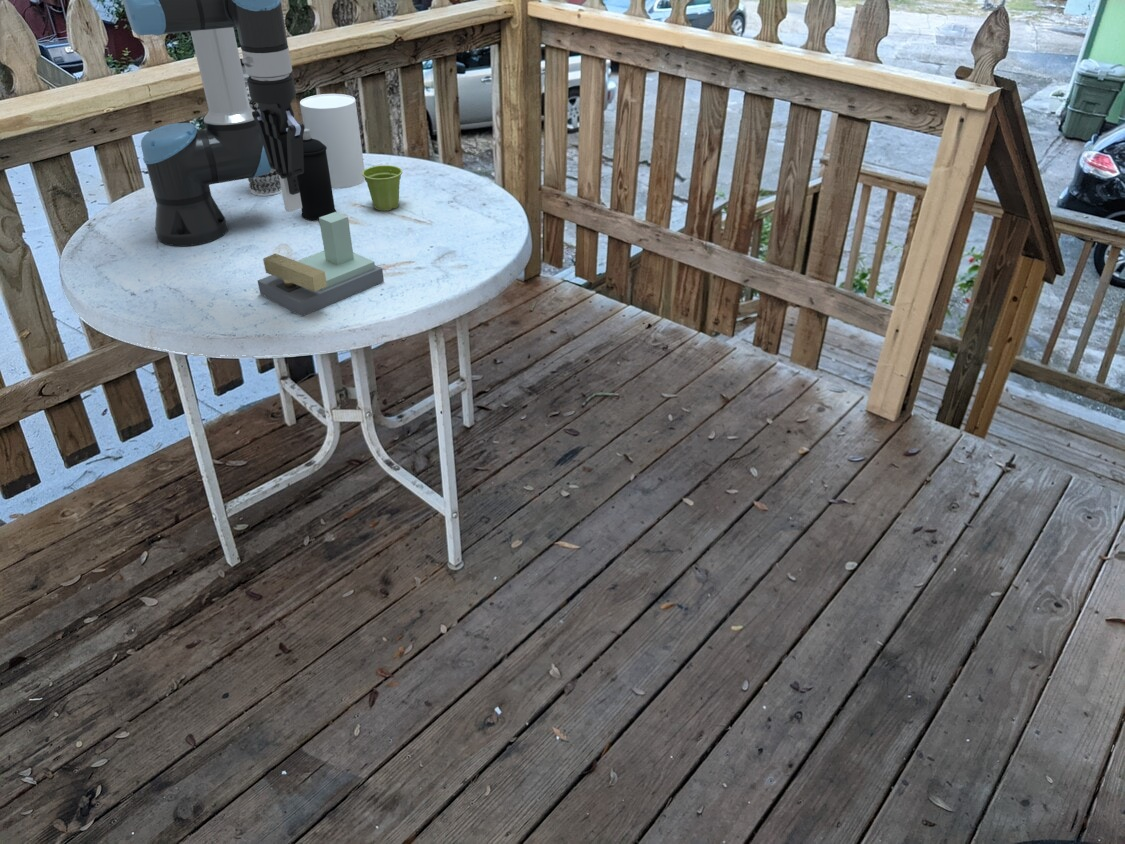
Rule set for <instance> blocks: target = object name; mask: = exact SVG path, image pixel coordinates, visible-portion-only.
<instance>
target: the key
mask: <svg viewBox="0 0 1125 844" xmlns="http://www.w3.org/2000/svg"><path fill="white" fill-rule="evenodd" d="M262 261H263V265H264V270H265V274H268V275H269V276H271V275H273V276H275V277H278V278H281V279H283V281H284V286H285V287H294V286H296V285H299V286H301V287H304V288H307V289H309V290H312V291H314V292H316V291H318V290H320V289H322V288H324V287H326V286H327V282H326V277H325V272H324V271H322V270H319V269H316V268H314V267H311V266H308V265H305V264H303V263H300V262H297V261H298V260H294V259H291V258H289V257H286V256H283V255H280V254H278V253H273V254H271V255H269V256H266V257H264V258H262Z"/></svg>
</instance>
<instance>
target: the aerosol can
mask: <svg viewBox="0 0 1125 844" xmlns="http://www.w3.org/2000/svg"><path fill="white" fill-rule="evenodd" d="M326 149H327V147H326V146H325V145H324V144H323V143H321V142H320V141H318V140H316V139H312V138H311V135H310V130H309V129H304V133H303V155H304V173H302V174H299V175H297V179H298V185H299V190H300V197H301V203H302V208H301V209H300V210H301V214H300V215H301V217H302V218H303V219H304V218H305V220H307V221H313V220H318V221H319V217H322V216H325V215H328V214H331V213H334V212H337V209H336V206H335V201H334V199H335V198H334V194H333V189H332V186H331V180H330V173H329V167H328V160H327V154H326ZM337 213H338V212H337Z"/></svg>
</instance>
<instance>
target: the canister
mask: <svg viewBox="0 0 1125 844" xmlns="http://www.w3.org/2000/svg"><path fill="white" fill-rule="evenodd" d="M299 105H300V106H299V107H300V111H301V119H302V123H303V124H304V126H305V129H309V130H310V135H311V138H312V139H316V140H318V141H320V142H321V143H323V144H324V145H325V146H326V147H327V149H326V154H327V160H328V167H329V173H330V180H331V186H332V188H334V190H337V188H339V189H346V188H347V187H348V188H352V187H356V186H358V185H360V184H363V182H366V180H365V177H364V176H363V175H362V172H363V171H364V170H365V169H366V168H365V163H364V154H363V147H362V140H361V132H360V125H359V117H358V108H357V103H356V98H355V97H354V96H352V95H350V94H343V93H323V94H321V93H320V94H315V95H311V96H307V97H305V98H302V99H301V100H300V101H299Z"/></svg>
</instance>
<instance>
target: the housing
mask: <svg viewBox="0 0 1125 844" xmlns="http://www.w3.org/2000/svg"><path fill="white" fill-rule="evenodd" d="M384 281H385V279H384V273H383V268H382V267H380V266H378V265H377V264H375V269H373V270H370V271H368V272H365V273H363V274H360V275H358V276H356V277H353V278H351V279H348V280H346V281H343V282H341V283H338V284H336V285H333V286H331V287H329V288H326V289H324V290H321V289H320V290H318V291H316V292H314V291H312V290H309V289H307V288H304V287H301V286H299V285H296V286H294V287H285V286H284V281H283V279H281V278H278V277H275V276H273V275H268V276H266V277H263V278H259V279H257V285H258V289H259V294H260V295H261V296H263V297H265V298H267V299H269V301H273V302H274V303H276V304H278V305H280V306H282V307H283V308H286V309H288V310H289V311H291V312H293V313H294V314H296V315H298V316H300V317H304V316H306V315H309V314H311V313H314V312H316V311H318V310H320V309H322V308H325V307H328V306H330V305H332V304H335V303H336V302H339V301H341V300H345V299H346V298H348V297H351V296H353V295H356V294H359V293H360V292H363V291H365V290H368V289H370V288H374V286H376V285H379V284H383V283H385V282H384Z"/></svg>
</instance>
